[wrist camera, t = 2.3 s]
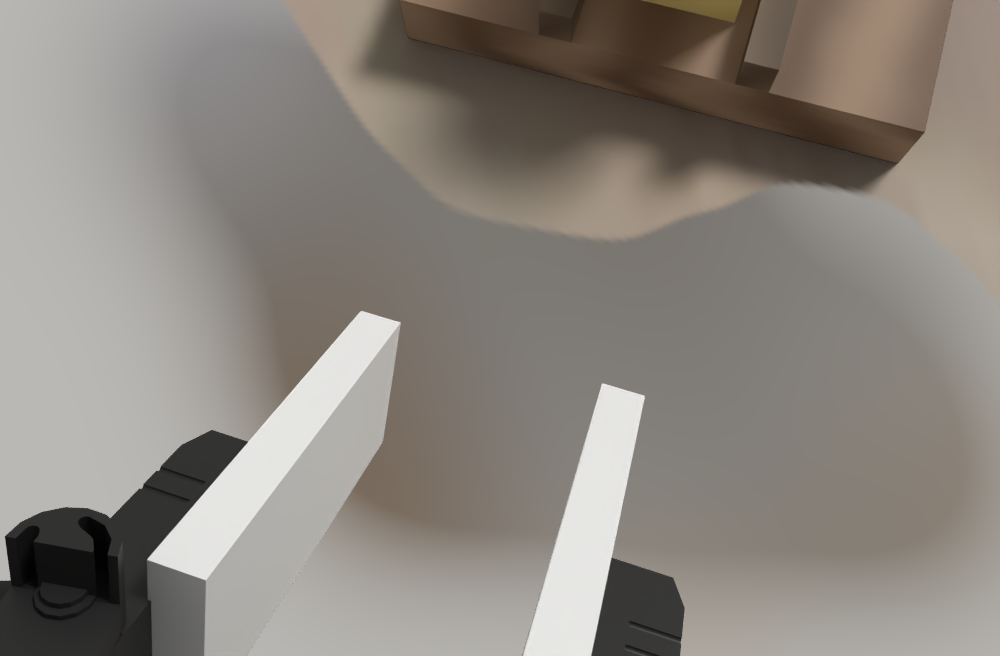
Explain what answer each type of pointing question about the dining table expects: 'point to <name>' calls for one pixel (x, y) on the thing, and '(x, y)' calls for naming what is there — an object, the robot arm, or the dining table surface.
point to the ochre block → (705, 7)
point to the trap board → (726, 58)
